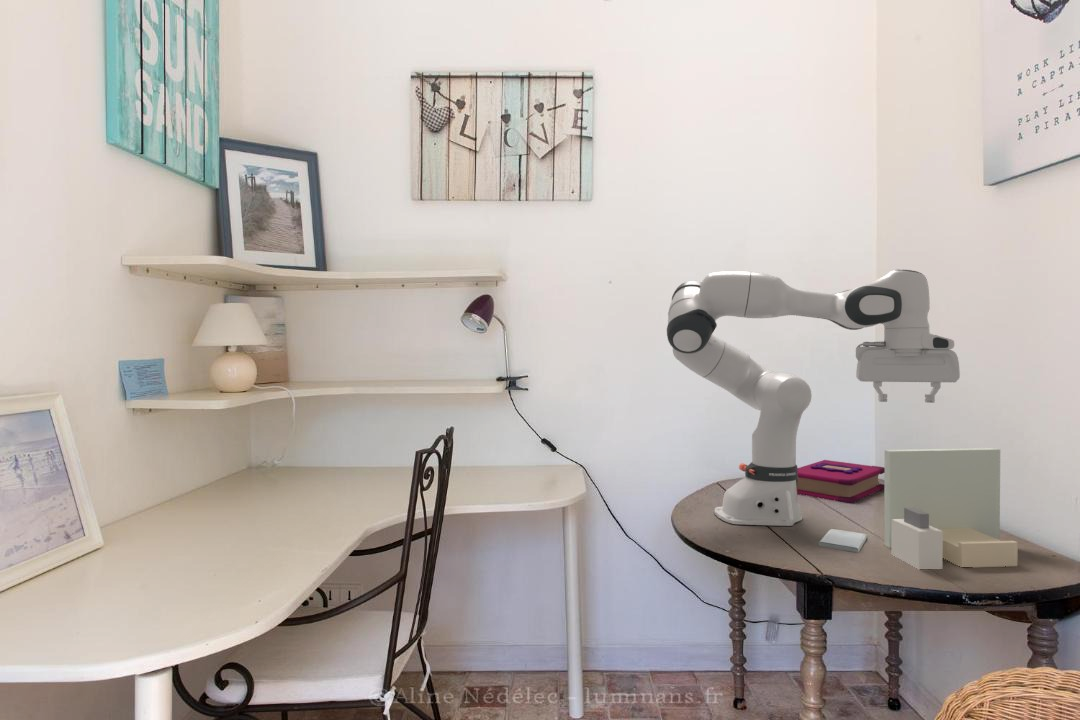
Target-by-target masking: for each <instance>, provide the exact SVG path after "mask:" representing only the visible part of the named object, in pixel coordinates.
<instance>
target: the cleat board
mask: <svg viewBox="0 0 1080 720" xmlns="http://www.w3.org/2000/svg"><path fill="white" fill-rule="evenodd" d="M884 468H885V473H884V489H883V490H884V491H883V493H884V500H883V501H884V504H883V505H884V506H883V507H884V509H883V511H884V516H883V518H884V519H883V521H884V523H883V526H884V527H883V528H884V530H883V532H884V534H883V535H884V536H883V537H884V539H883V542H884V543H883V546H885V545H886V546H885V547H887V548H890V549H891V531H892V519H904V508H915V509H918V510H920V511H923V512H925V513H928V514H929V525H930V526H932V527H934V528H937V529H939V530H941V531H943V551H942V559H943V558H944V559H943V560H945V559H946V560H945V561H947V560H948V561H947V562H949V561H950V562H949V563H951V562H952V563H951V564H953V563H954V564H953V565H955V564H956V565H955V566H957V565H958V566H957V567H959V566H960V567H959V568H961V567H973V568H1000V567H1001V568H1003V567H1005V566H1006V567H1007V568H1008V567H1018V551H1019V550H1018V549H1019V548H1018V541H1016V540H1001V539H1000V536H1001V535H1000V534H1001V533H1000V531H1001V530H1000V529H1001V524H1000V523H1001V521H1000V518H1001V449H1000V448H995V447H976V448H975V447H974V448H973V447H972V448H969V447H968V448H967V447H965V448H930V449H929V448H923V449H922V448H920V449H919V448H918V449H917V448H914V449H913V448H912V449H911V448H910V449H884Z"/></svg>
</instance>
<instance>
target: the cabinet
mask: <svg viewBox="0 0 1080 720" xmlns="http://www.w3.org/2000/svg"><path fill="white" fill-rule="evenodd" d="M890 549H891V551H890V552H891V553H890V554H891V556H892V555H893V556H892V557H894V556H895V557H894V558H896V557H897V558H899V559H901V560H902V561H901V560H900V561H901V562H903V561H905V562H906V563H905V562H904V563H905V564H907V563H908V564H910V565H911V567H912V566H913V567H912V568H914V567H915V568H914V569H916V568H917V569H942V570H943V558H942V551H943V531H941V530H939V529H937V528H934V527H932V526H930V525H929V514H928V513H925V512H923V511H920V510H918V509H915V508H904V519H892V531H891V548H890ZM897 558H896V559H897ZM899 559H898V560H899ZM908 564H907V565H908ZM910 565H909V566H910ZM917 569H916V570H917Z"/></svg>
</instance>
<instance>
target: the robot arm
mask: <svg viewBox="0 0 1080 720" xmlns="http://www.w3.org/2000/svg"><path fill="white" fill-rule="evenodd" d="M929 287H930V286H929V282H928V280H927V276H926V275H925V274H923V273H922V272H919V271H917V270H911V269H892V270H889V271H888V272H887V273H886V274H884V275H883V276H881V277H879V278H877V279H875V280H873V281H870V282H867V283H865V284H862V285H860V286H857V287H854V288H851V289H846V290H843V291H840V292H836V293H825V292H817V291H809V290H808V291H807V290H802V289H801V290H800V289H797V288H794V287H792V286H790V285H788V284H787V283H786V282H785V281H783V280H782V279H781V278H779V277H777V276H775V275H770V274H768V273H767V274H766V273H763V272H762V273H761V272H757V271H756V272H755V271H745V270H742V271H741V270H732V271H731V270H730V271H729V270H727V271H726V270H725V271H715V272H711V273H708V274H707V275H705V277H703V280H702V281H698V280H688V281H684V282H682V283H681V284H680V285H678V286H677V287H676V289H675V290H674V292H673V294H672V295H671V296H672V297H671V302H670V305H669V309H668V312H667V318H668V319H667V325H666V336H667V341H668V343H669V345H670V346H671V348H672V354H673V356H674V358H675V359H676V360H678V361H679V362H680V363H681V364H682V365H683V366H684V367H686V368H687V369H689V370H690V371H692V372H693V373H694V374H696V375H698V376H700V377H702V378H703V379H706V380H707V381H709V382H711V383H713V384H714V385H716V386H718V387H720V388H722V389H724V390H725V391H727V392H729V394H731V395H733V396H734V397H736V398H737V399H739V400H740V401H741V402H743V403H745V404H746V405H748V406H749V407H751V408H752V409H755V410H758V411H760V413H759V418H758V422H757V426H756V428H755V430H753V433H752V434H751V435H752V436H751V462H750V463H749V464H748V465H747V464H745V463H744V462H741V463H739V465H738V469H739V470H740V471H742V472H745V473H744V474H745V476H744V477H742V478H741V479H740V480H738V481H737V482H736V483H734V484H733V485H732V486H730V487H729V488H727V489H726V491H725V492H724V494H723V498H722V506H716V507H715V508H714V512H713V513H714V515H715V516H716V517H717V518H719V519H720V520H722V521H723V522H726V523H729V524H731V525H747V526H748V525H749V526H750V525H751V526H753V525H754V526H779V527H780V526H781V527H785V526H787V527H790V526H791V527H792V526H794V525H795V523H798V522H800V521H802V520H803V514H802V511H801V508H800V504H799V503H800V502H799V498H798V494H797V486H796V485H797V482H798V470H797V468H798V465H797V464H796V462H797V461H796V459H797V458H796V457H797V456H796V455H797V434H798V429H799V425H800V423H801V419H802V416H803V414H804V412H805V411H806V410H807V409H808V408H809V406H810V403H811V402H812V390H811V387H810V386H809V384H808V383H807V381H805V380H804V379H802V378H801V377H800V376H797V375H795V374H792V373H788V372H778V371H773V370H769V369H767V368H766V367H763V366H761V365H760V364H759V363H758V362H756V361H755V360H754V359H753V358H751V356H750V354H748V353H746V352H744V351H742V350H741V349H739V348H737V347H736V346H734V345H732V344H730V343H729V342H727V341H724V340H723V339H721V338H719V337H717V336H715V335H713V333H714V332H715V329H717V328H718V327H717V326H718V324H717V322H716V321H717V320H718V319H720V318H722V317H736V318H746V319H772V318H779V317H784V316H787V317H788V316H796V317H799V316H800V317H804V318H805V317H807V318H815V319H822V320H827V321H830V322H832V323H834V324H835V325H837V326H839V327H841V328H843V329H846V330H850V331H857V330H862V329H864V328H865V329H866V328H869V327H874V326H876V325H879V324H881V325H883V329H884V333H883V335H884V339H883V341H862V343H860V344H858V345H857V346H856V348H855V358H856V360H857V364H856V371H855V372H856V373H855V375H856V379H858V381H859V382H870V383H871V382H873V383H872V385H873V388H874V390H875V392H876V393H877V394H878V402H880V403H887V402H888V394H887V393H883V391H882V389H881V387H882V386H883V382H884V383H887V382H888V383H894V382H895V383H930V387H931V388H932V389H931V390H930V391H929V393H926V394H924V397H925V399H924V402H925V403H933V404H935V401H936V400H935V397H936V395H937V394H938V392H939V390H940V389H941V388H942V387H941V383H956V382H958V380H959V379H960V375H961V373H960V372H961V371H960V362H959V361H960V360H959V357H958V354H957V352H955V351H954V350H953V349H954V347H955V341H954V340H953V339H951V338H947V337H944V336H940V335H937V334H933V333H930V324H929V321H928V316H929V312H930V310H931V309H930V307H931V306H930V304H931V303H930V289H929Z"/></svg>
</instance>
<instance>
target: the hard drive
mask: <svg viewBox="0 0 1080 720" xmlns="http://www.w3.org/2000/svg"><path fill="white" fill-rule="evenodd" d="M866 538H868V537H867V534H866V533H863V532H855V531H850V530H849V531H848V530H843V529H842V530H841V529H835V528H834V529H833V528H830V529H829V530H828V531H827V532H826V533H825V535H823V537H822V538H821V539H820V540H819V542H818V546H819V547H823V548H829V549H835V550H840V551H846V552H852V553H857V554H859V552H860V551H861V549H862V547H863V545H864V544H865V542H866V540H867V539H866Z"/></svg>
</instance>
